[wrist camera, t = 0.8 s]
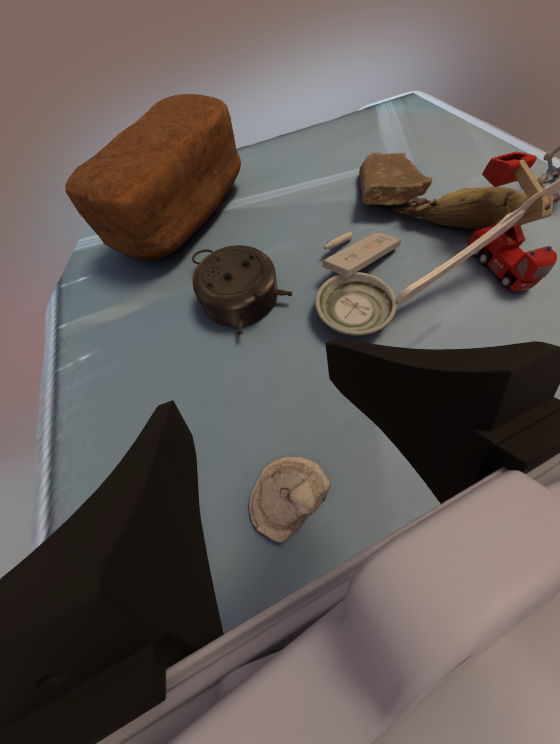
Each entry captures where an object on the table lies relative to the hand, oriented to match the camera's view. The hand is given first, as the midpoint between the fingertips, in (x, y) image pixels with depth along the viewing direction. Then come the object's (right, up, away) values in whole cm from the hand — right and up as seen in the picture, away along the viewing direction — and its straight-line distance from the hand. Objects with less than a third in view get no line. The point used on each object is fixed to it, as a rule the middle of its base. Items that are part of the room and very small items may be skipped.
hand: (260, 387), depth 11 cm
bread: (-17, +34, +23) cm, 44 cm away
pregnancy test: (+12, +17, +24) cm, 32 cm away
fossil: (+3, -12, +10) cm, 16 cm away
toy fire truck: (+30, +16, +23) cm, 41 cm away
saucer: (+10, +8, +21) cm, 25 cm away
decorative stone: (+19, +40, +32) cm, 55 cm away
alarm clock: (-1, +9, +19) cm, 21 cm away
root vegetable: (+28, +26, +23) cm, 44 cm away
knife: (+26, +16, +16) cm, 34 cm away
